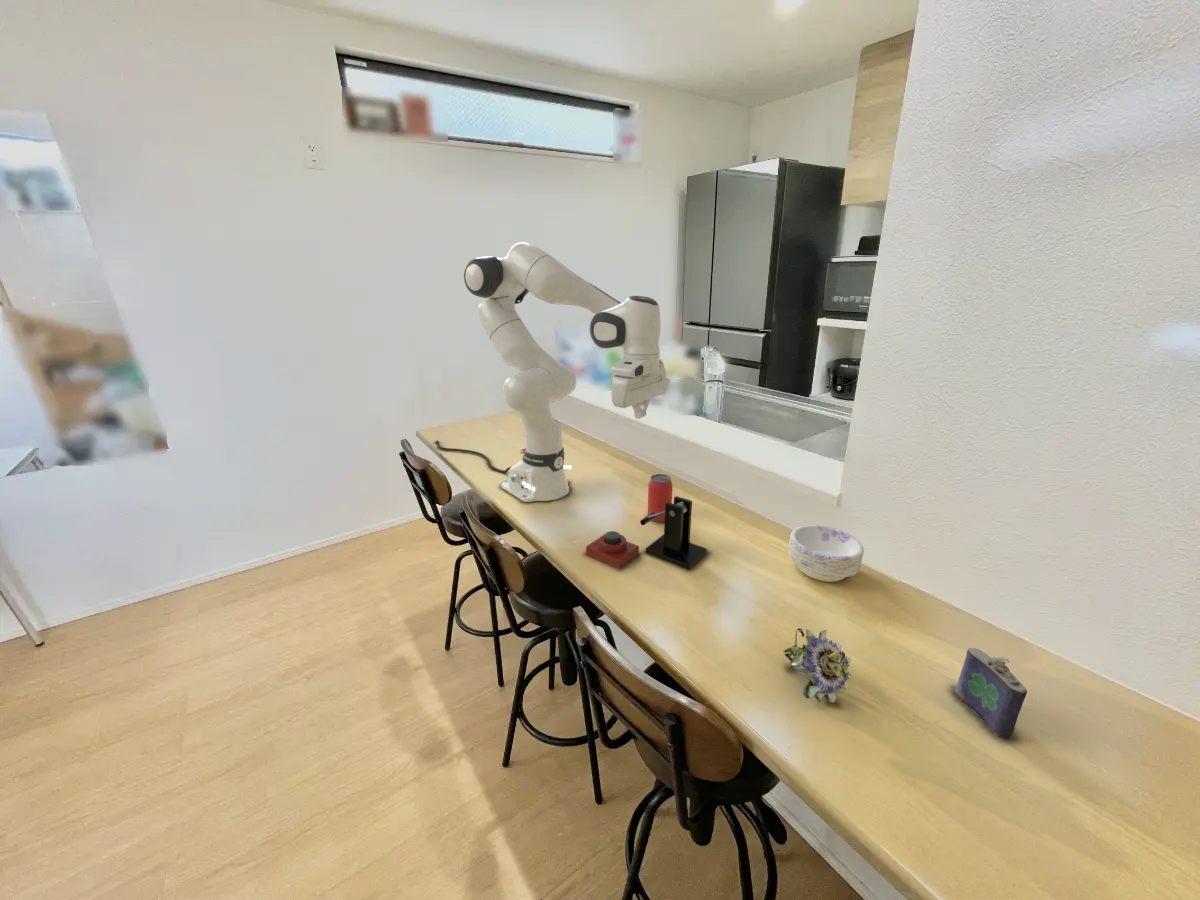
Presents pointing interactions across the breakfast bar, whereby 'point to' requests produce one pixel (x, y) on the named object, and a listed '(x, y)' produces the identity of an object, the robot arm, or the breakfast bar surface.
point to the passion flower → (820, 665)
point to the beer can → (659, 494)
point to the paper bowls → (825, 552)
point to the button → (612, 537)
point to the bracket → (677, 537)
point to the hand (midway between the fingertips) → (640, 417)
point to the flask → (991, 691)
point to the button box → (612, 551)
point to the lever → (659, 514)
